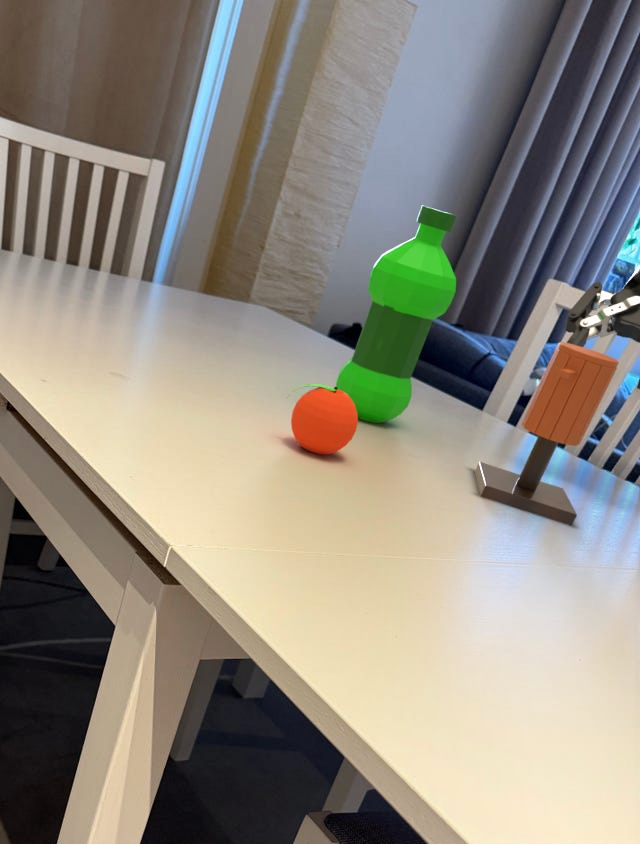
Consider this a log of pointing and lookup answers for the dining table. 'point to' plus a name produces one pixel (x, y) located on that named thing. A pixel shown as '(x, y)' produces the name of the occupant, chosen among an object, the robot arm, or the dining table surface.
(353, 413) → the clementine
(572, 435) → the orange letterbox
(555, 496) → the stand
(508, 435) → the dining table surface
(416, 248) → the plastic bottle
